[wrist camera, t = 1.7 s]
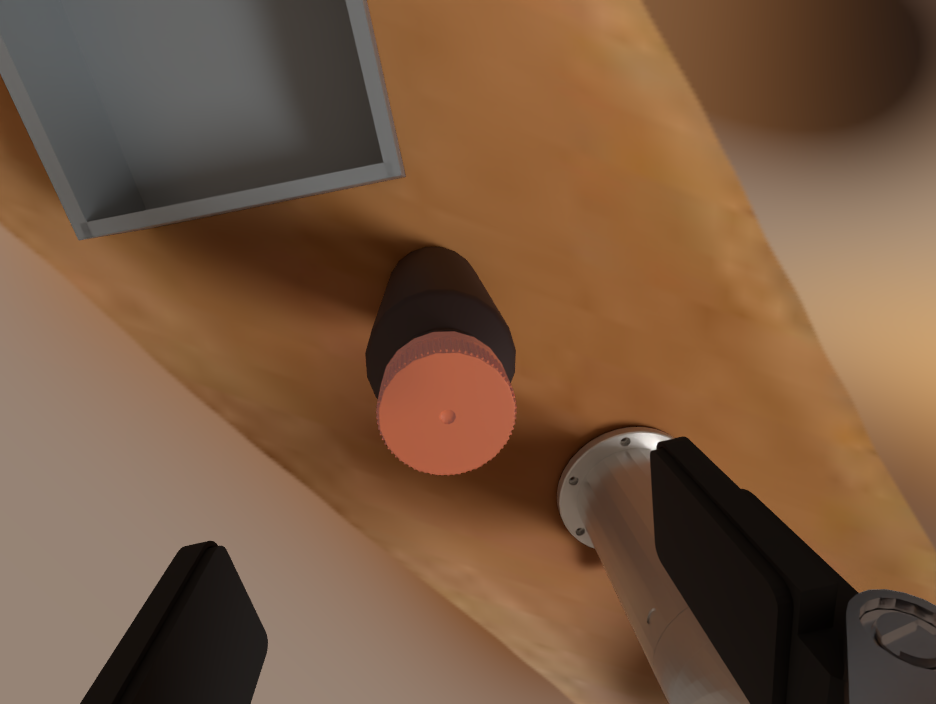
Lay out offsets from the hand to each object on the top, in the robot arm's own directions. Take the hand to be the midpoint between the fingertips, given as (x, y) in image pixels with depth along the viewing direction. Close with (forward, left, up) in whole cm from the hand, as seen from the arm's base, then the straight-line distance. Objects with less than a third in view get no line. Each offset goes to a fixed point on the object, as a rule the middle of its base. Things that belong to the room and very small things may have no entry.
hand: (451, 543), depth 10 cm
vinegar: (0, 0, -27) cm, 27 cm away
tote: (+17, +9, -26) cm, 32 cm away
